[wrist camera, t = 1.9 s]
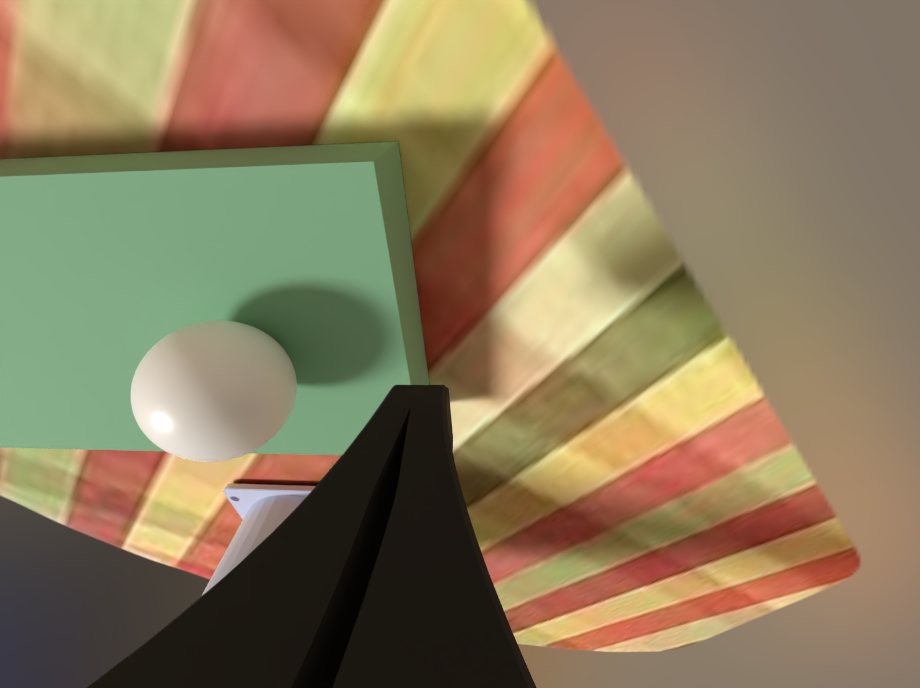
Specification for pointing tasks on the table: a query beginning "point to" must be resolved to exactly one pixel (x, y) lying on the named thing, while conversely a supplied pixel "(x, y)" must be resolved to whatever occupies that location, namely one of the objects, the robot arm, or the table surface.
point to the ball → (213, 391)
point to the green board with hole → (204, 283)
